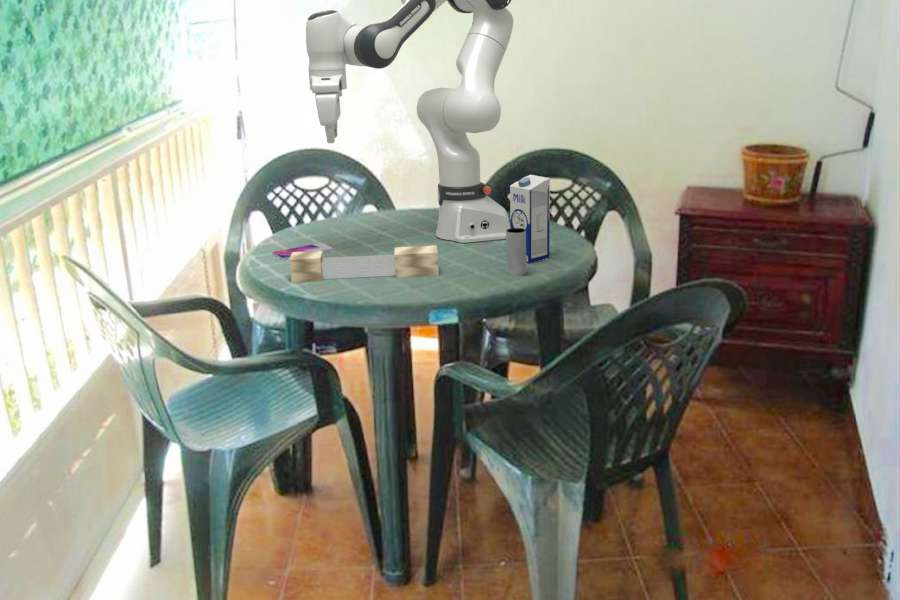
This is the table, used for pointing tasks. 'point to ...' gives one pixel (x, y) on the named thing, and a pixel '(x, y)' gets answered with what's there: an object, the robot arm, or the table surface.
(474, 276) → the table surface
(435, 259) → the sleeve
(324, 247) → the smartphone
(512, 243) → the grey cylinder
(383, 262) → the slip tube
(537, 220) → the milk carton
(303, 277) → the beige wooden block
